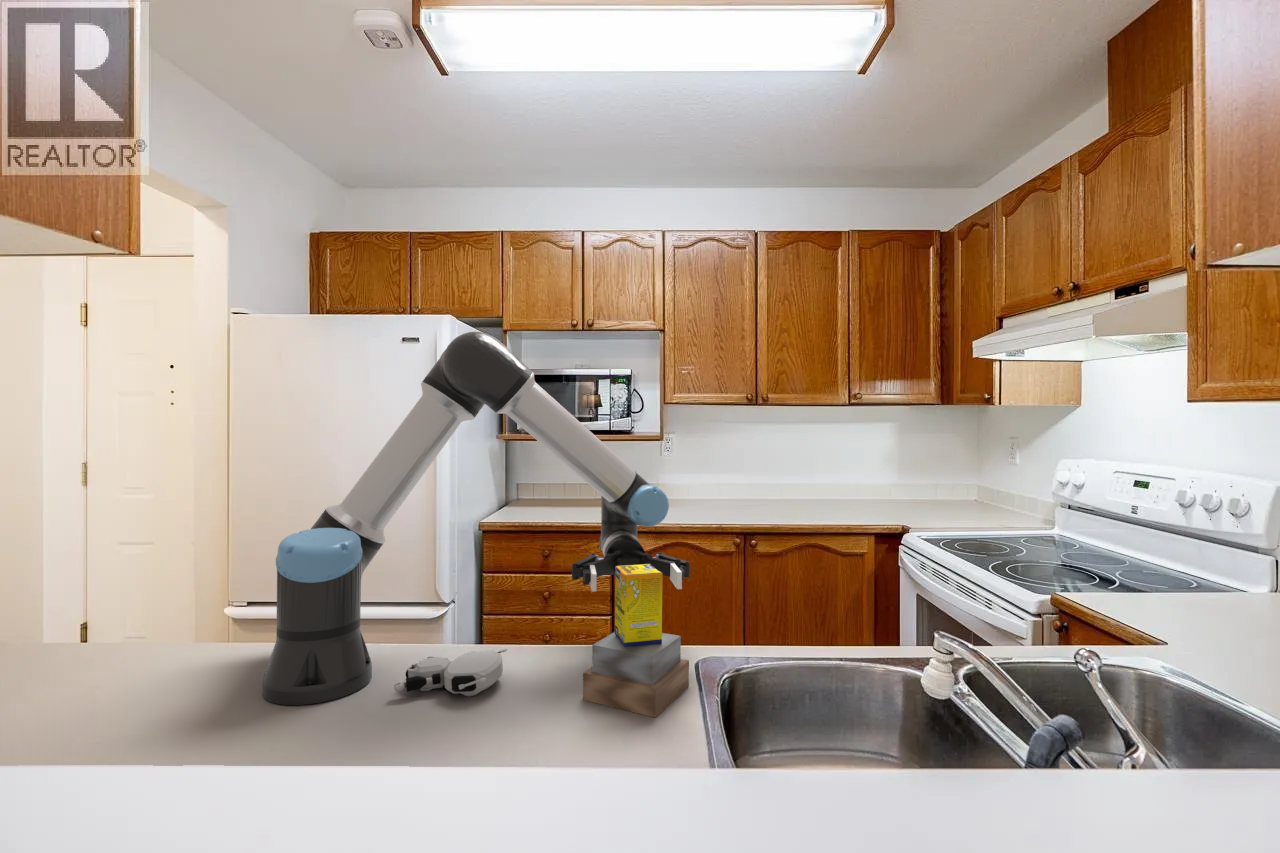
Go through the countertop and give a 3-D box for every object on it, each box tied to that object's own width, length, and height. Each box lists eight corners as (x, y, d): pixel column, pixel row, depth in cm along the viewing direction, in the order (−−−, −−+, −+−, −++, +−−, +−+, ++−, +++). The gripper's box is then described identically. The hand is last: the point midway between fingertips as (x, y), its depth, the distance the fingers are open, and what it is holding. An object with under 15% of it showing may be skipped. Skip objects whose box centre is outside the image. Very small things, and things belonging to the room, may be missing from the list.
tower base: (582, 699, 92) (583, 645, 92) (621, 671, 103) (622, 623, 103) (655, 717, 86) (655, 660, 86) (688, 686, 97) (689, 635, 97)
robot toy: (389, 709, 90) (490, 705, 90) (387, 678, 90) (488, 673, 90) (422, 676, 103) (511, 671, 102) (420, 649, 103) (510, 644, 102)
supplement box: (613, 635, 97) (614, 565, 97) (650, 632, 98) (650, 563, 98) (624, 648, 91) (624, 574, 91) (662, 644, 93) (663, 571, 93)
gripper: (687, 572, 120) (714, 603, 99) (558, 575, 117) (557, 607, 96) (687, 533, 120) (714, 556, 99) (558, 535, 117) (557, 559, 96)
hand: (637, 581), depth 98 cm, fingers open, 13 cm apart
